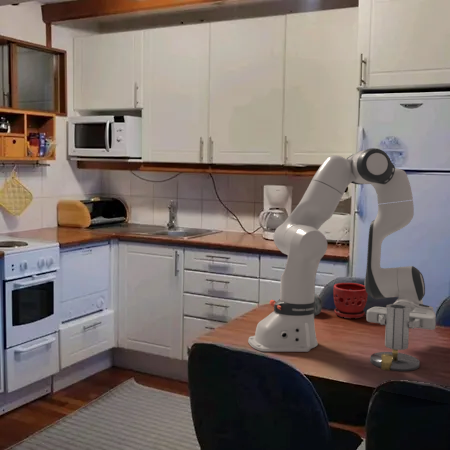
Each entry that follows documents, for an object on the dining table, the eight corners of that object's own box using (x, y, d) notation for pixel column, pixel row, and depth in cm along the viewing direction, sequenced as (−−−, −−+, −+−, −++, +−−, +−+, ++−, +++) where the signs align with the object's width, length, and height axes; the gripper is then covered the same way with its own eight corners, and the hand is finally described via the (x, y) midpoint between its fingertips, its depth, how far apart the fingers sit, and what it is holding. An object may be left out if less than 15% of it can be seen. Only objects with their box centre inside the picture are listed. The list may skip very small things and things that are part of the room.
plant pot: (325, 313, 234) (326, 283, 233) (352, 310, 240) (354, 281, 239) (345, 321, 222) (347, 290, 221) (373, 318, 228) (375, 288, 227)
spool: (330, 308, 229) (317, 285, 230) (309, 320, 227) (297, 297, 228) (319, 308, 242) (307, 286, 243) (299, 320, 240) (288, 298, 241)
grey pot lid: (385, 372, 168) (386, 354, 167) (361, 357, 181) (362, 340, 181) (429, 369, 171) (430, 352, 171) (402, 354, 185) (403, 338, 184)
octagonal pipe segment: (386, 348, 173) (387, 308, 172) (384, 342, 179) (385, 303, 178) (408, 350, 172) (410, 309, 171) (406, 343, 178) (407, 304, 177)
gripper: (371, 300, 191) (361, 309, 178) (438, 307, 182) (433, 317, 170) (370, 319, 191) (360, 329, 179) (437, 327, 183) (432, 339, 170)
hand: (396, 324), depth 174 cm, fingers closed on octagonal pipe segment, 7 cm apart
